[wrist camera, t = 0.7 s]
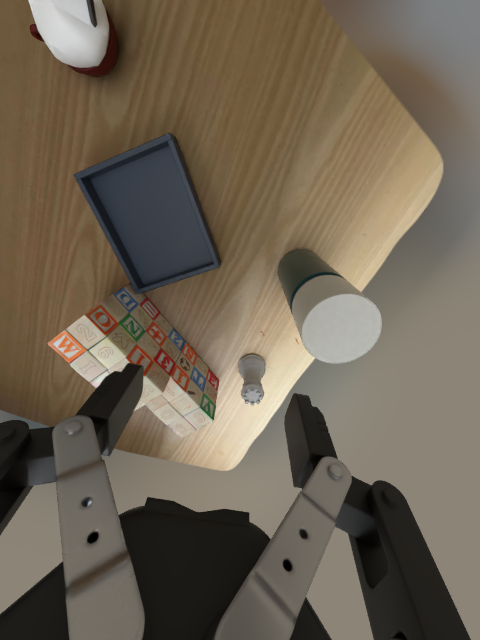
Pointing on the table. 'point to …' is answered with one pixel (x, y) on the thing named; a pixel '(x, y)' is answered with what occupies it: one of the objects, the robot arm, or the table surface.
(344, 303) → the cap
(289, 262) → the green metal cylinder
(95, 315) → the stack of blocks
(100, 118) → the table surface
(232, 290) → the table surface
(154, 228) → the tray
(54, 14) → the cocoa
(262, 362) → the rook chess piece
